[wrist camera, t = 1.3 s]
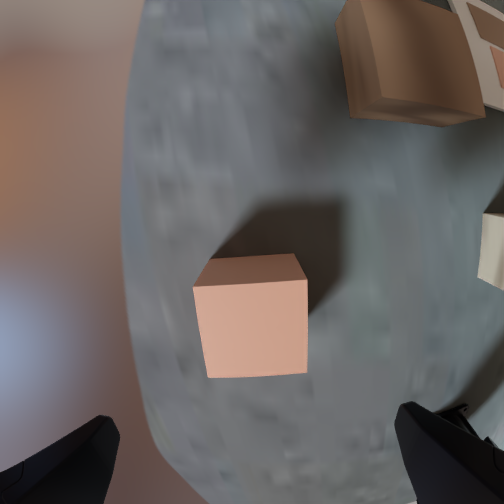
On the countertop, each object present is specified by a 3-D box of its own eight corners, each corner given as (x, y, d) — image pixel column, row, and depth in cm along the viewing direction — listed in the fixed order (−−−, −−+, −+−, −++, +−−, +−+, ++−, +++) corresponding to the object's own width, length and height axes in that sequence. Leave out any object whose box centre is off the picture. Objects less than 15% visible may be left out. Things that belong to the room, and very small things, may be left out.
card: (509, 21, 11) (513, 19, 11) (539, 126, 14) (544, 125, 13) (441, -14, 12) (444, -18, 11) (478, 104, 14) (484, 102, 14)
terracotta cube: (293, 253, 17) (307, 279, 12) (295, 327, 18) (307, 372, 14) (210, 258, 17) (192, 286, 13) (219, 332, 19) (208, 377, 14)
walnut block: (422, 40, 14) (458, 14, 9) (440, 127, 15) (485, 117, 10) (334, 24, 14) (355, -16, 9) (349, 118, 16) (381, 97, 11)
